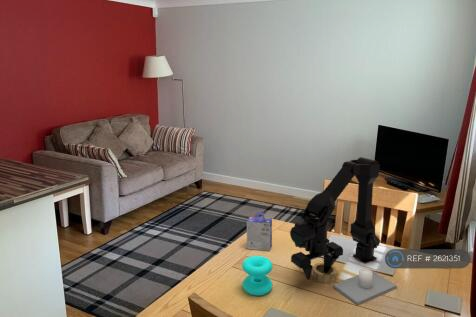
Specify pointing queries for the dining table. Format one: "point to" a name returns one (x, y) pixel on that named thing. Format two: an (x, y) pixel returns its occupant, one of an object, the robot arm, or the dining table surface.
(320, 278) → the ring
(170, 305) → the dining table surface
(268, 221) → the ink cartridge box
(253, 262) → the donuts
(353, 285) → the post plate
